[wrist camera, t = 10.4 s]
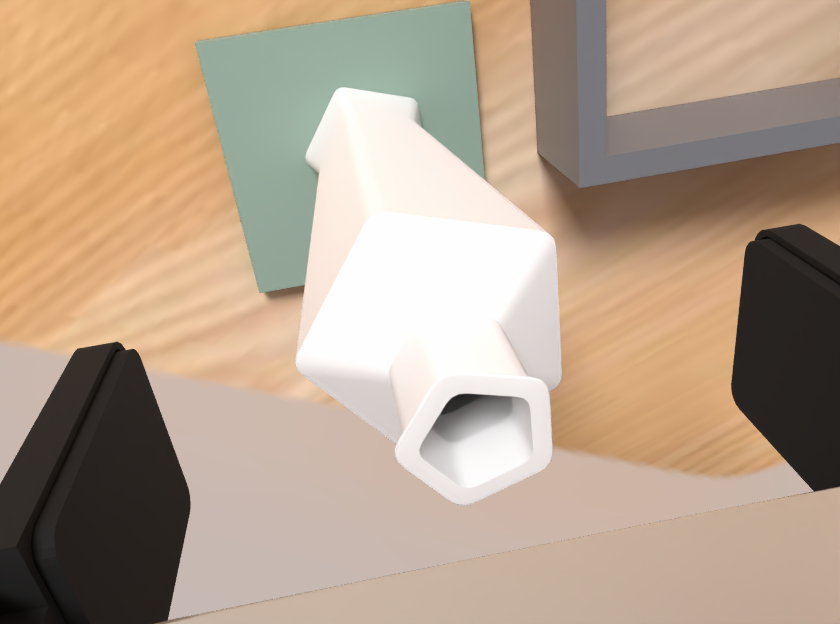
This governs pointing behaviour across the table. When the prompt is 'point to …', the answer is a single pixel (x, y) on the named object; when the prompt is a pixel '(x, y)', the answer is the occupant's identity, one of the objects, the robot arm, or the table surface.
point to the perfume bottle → (428, 301)
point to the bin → (654, 110)
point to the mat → (307, 102)
